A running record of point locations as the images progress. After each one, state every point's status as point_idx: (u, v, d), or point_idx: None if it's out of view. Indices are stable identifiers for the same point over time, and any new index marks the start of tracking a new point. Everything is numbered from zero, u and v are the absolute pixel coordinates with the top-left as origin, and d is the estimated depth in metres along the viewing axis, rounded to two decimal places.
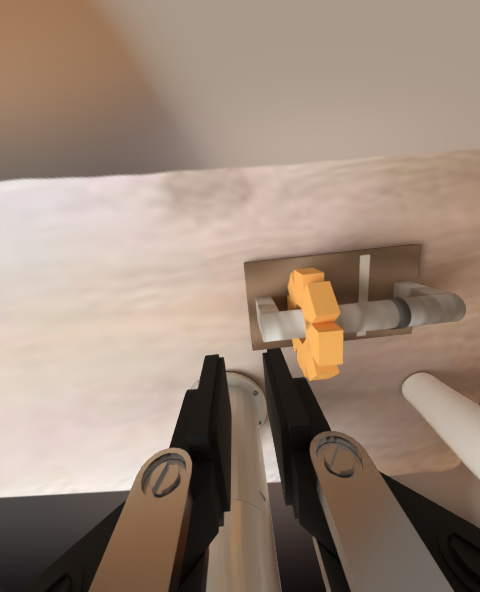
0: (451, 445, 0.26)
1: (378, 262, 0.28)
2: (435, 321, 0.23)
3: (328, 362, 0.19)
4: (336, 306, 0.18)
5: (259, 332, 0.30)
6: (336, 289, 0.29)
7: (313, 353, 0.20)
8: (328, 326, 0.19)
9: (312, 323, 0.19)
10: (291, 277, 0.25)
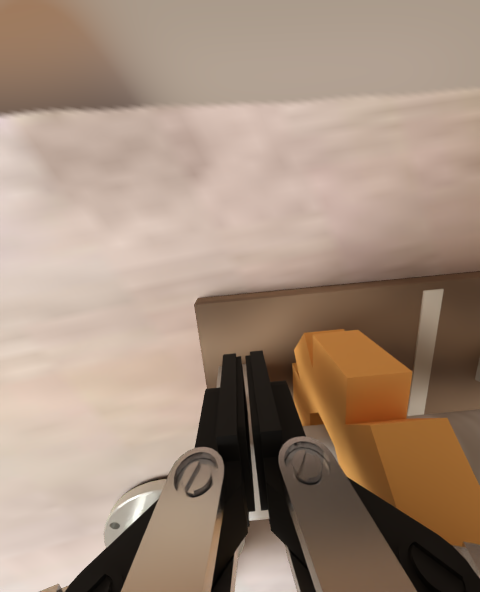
0: None
1: (458, 304, 0.14)
2: None
3: None
4: None
5: None
6: None
7: None
8: None
9: None
10: (304, 343, 0.11)
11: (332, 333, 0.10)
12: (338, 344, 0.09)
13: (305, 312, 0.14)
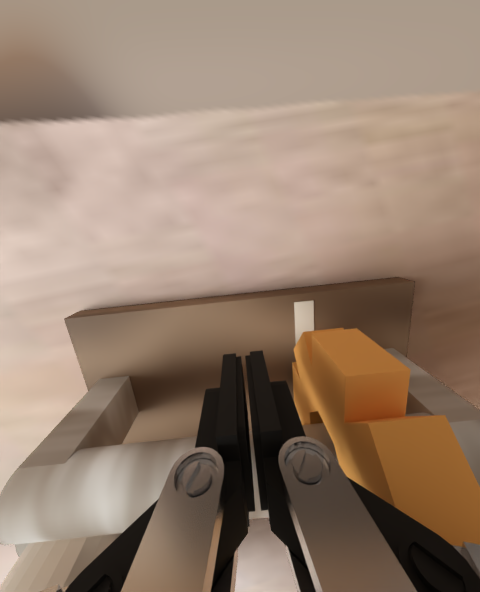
0: None
1: (332, 314, 0.14)
2: None
3: None
4: None
5: None
6: None
7: None
8: None
9: None
10: (303, 342, 0.11)
11: (331, 332, 0.10)
12: (337, 343, 0.09)
13: (178, 325, 0.14)
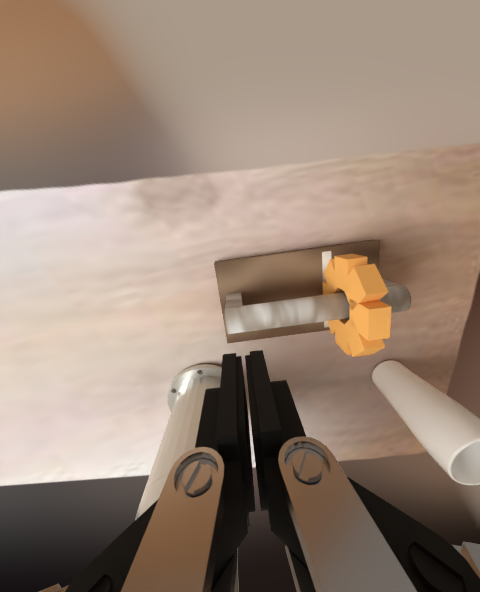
0: (408, 425, 0.28)
1: None
2: None
3: (376, 336, 0.21)
4: (383, 285, 0.20)
5: None
6: (302, 284, 0.31)
7: (361, 330, 0.22)
8: (376, 304, 0.21)
9: (359, 302, 0.21)
10: (330, 263, 0.27)
11: (342, 255, 0.25)
12: (344, 256, 0.24)
13: (266, 264, 0.30)
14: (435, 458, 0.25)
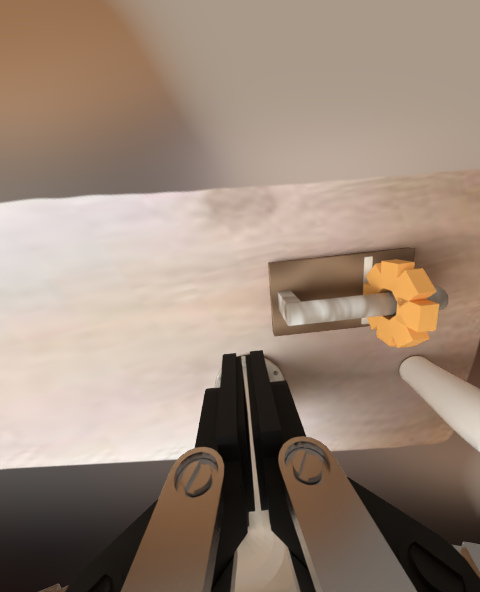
0: (439, 411, 0.32)
1: (379, 262, 0.34)
2: None
3: (425, 329, 0.25)
4: (432, 286, 0.24)
5: (280, 320, 0.36)
6: (344, 285, 0.35)
7: (409, 323, 0.26)
8: (424, 302, 0.25)
9: (410, 300, 0.25)
10: (375, 267, 0.31)
11: (388, 260, 0.30)
12: (392, 261, 0.29)
13: (315, 267, 0.34)
14: (466, 437, 0.29)
